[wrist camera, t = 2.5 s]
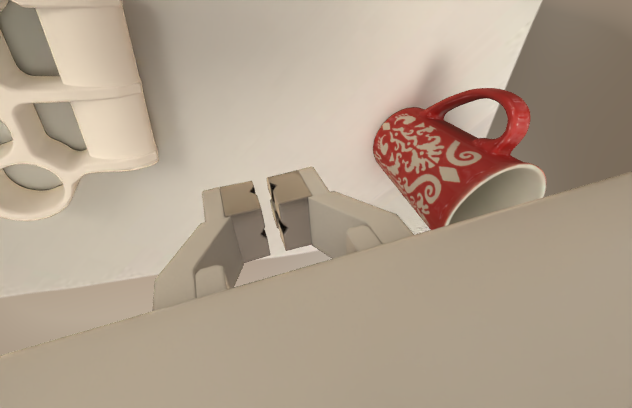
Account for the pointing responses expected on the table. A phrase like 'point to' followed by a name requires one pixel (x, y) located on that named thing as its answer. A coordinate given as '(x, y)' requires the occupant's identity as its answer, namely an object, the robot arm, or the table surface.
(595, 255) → the robot arm
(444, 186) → the mug
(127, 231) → the table surface
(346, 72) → the table surface
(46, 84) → the cream flat holed block
